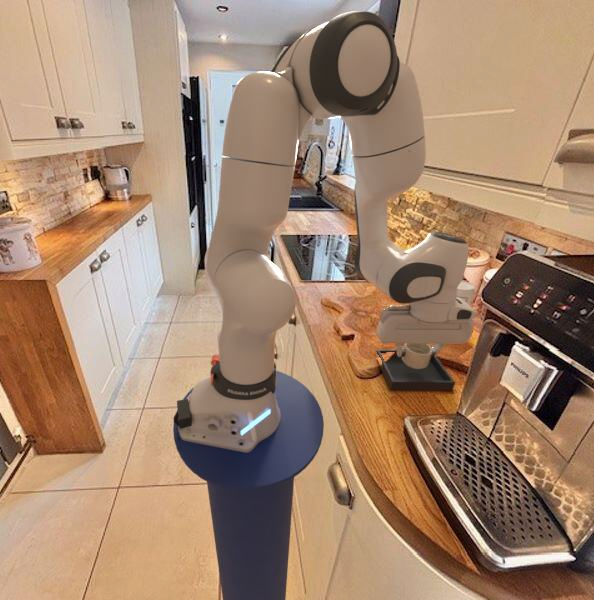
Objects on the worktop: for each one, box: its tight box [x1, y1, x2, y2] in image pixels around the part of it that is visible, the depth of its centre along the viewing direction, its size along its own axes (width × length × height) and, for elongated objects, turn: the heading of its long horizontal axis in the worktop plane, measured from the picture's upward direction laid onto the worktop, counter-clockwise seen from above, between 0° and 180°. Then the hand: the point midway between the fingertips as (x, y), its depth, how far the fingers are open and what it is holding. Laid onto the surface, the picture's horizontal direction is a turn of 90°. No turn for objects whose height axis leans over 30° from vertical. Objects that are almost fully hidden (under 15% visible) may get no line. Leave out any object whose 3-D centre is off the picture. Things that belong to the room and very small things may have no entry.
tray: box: [375, 349, 456, 392], centre depth 80 cm, size 14×12×3 cm
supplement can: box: [457, 279, 476, 307], centre depth 94 cm, size 8×8×15 cm
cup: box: [402, 343, 433, 369], centre depth 78 cm, size 6×6×4 cm
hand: (416, 355), depth 78 cm, fingers closed on cup, 6 cm apart
